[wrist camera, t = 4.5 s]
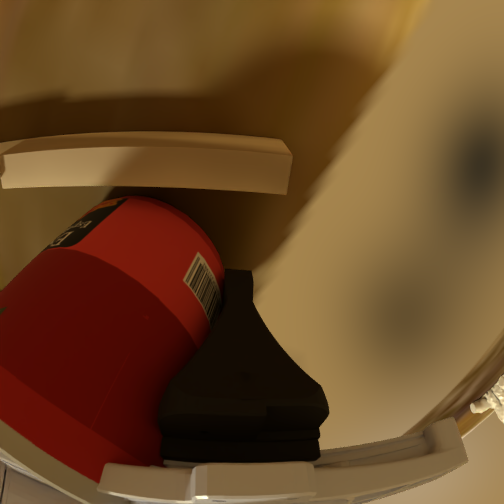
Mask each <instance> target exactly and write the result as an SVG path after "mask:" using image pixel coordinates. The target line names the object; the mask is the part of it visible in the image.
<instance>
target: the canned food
mask: <svg viewBox="0 0 504 504" xmlns="http://www.w3.org/2000/svg"><path fill="white" fill-rule="evenodd" d="M223 289H224V268H223V265H222V262H221V259H220V256H219V253H218V252H217V250H216V248H215V246H214V245H213V243H212V241H211V240H210V238H209V237H208V236H207V235H206V233H205V232H204V231H203V230H202V229H201V227H200V226H199V225H197V224H196V223H195V222H194V221H193V220H192V219H191V218H190V217H188V216H187V215H186V214H184V213H183V212H181V211H180V210H178V209H177V208H175V207H173V206H172V205H169V204H167V203H165V202H162V201H160V200H158V199H153V198H149V197H145V196H125V197H121V198H116V199H112V200H108V201H104V202H102V203H100V204H99V205H97V206H95V207H93V208H92V209H91V210H90V211H88V212H87V213H86V214H85V215H83V216H82V217H81V218H80V219H78V220H77V221H76V222H75V223H74V224H72V225H71V226H70V227H69V228H68V229H67V230H65V231H64V232H63V233H62V234H61V235H60V236H58V237H57V238H56V239H55V240H54V241H53V242H52V243H51V244H49V245H48V246H47V247H46V248H45V249H44V250H43V251H42V252H41V253H40V254H38V255H37V256H36V257H35V258H34V259H33V260H32V261H31V262H30V263H29V264H28V265H27V266H26V267H25V268H24V269H23V270H22V271H21V272H20V273H19V274H18V275H17V276H16V277H15V278H14V279H13V280H12V281H11V282H10V283H9V284H8V285H7V286H6V287H5V288H4V289H3V290H2V291H1V292H0V452H1V453H3V454H4V455H5V456H7V457H8V458H9V459H11V460H12V461H14V462H15V463H16V464H18V465H19V466H21V467H22V468H23V469H25V470H26V471H28V472H29V473H31V474H32V475H34V476H36V477H37V478H39V479H40V480H42V481H44V482H45V483H47V484H49V485H50V486H52V487H54V488H55V489H57V490H59V491H61V492H63V493H64V494H66V495H68V496H70V497H72V498H74V499H76V500H78V501H80V502H82V503H84V504H130V502H131V501H127V500H124V498H123V497H119V496H114V495H109V494H104V493H101V492H98V491H97V487H98V485H99V483H100V480H101V476H102V473H103V469H104V466H105V464H107V463H116V464H124V465H133V466H144V467H150V466H151V465H155V466H158V467H162V468H168V467H166V466H165V465H164V464H163V462H164V459H163V458H162V457H161V455H160V452H161V442H162V437H163V435H162V434H161V431H160V428H159V426H158V423H157V419H158V409H159V405H160V402H161V399H162V396H163V394H164V392H165V390H166V388H167V386H168V384H169V382H170V380H171V379H172V378H173V377H174V376H175V375H176V374H177V373H178V372H179V371H180V370H181V369H182V368H183V367H184V366H185V365H186V364H187V363H188V361H189V360H190V359H191V358H192V357H193V355H194V354H195V353H196V352H197V351H198V349H199V348H200V347H201V345H202V344H203V342H204V341H205V339H206V338H207V337H208V335H209V334H210V332H211V330H212V329H213V327H214V325H215V324H216V322H217V320H218V318H219V316H220V314H221V312H222V304H223Z"/></svg>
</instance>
